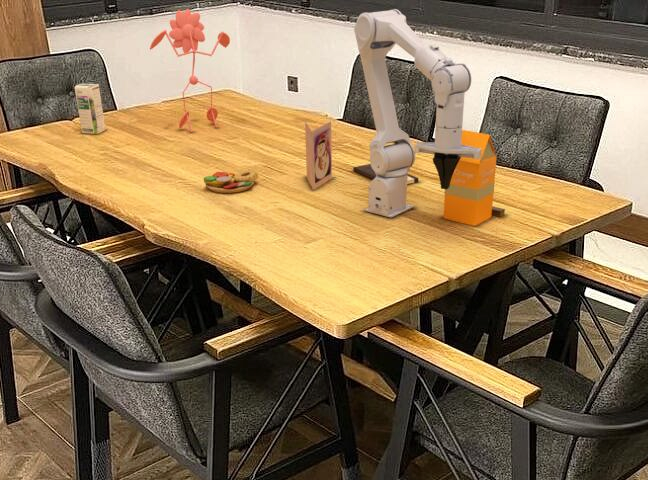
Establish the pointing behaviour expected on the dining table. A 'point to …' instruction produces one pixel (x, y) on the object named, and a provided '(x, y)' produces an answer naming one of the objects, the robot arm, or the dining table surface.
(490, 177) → the orange juice
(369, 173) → the chocolate bar
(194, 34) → the figurine
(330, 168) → the greeting card
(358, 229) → the dining table surface
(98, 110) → the syrup box
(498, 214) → the walnut batten
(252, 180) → the toy food set
